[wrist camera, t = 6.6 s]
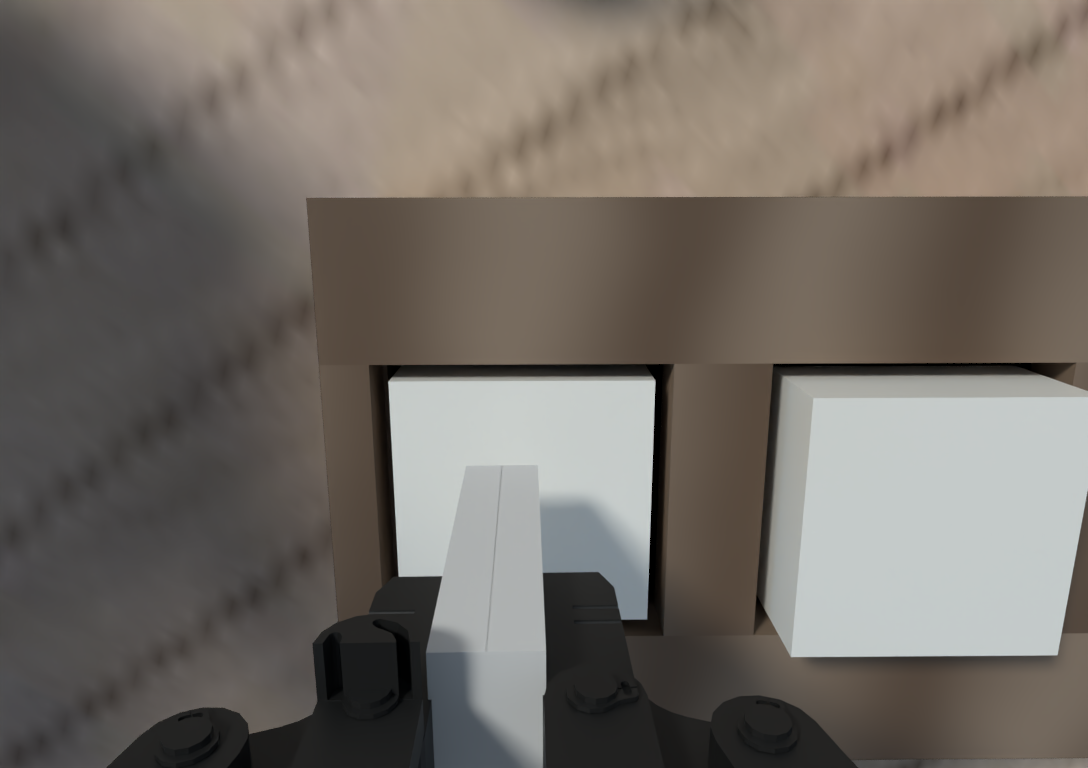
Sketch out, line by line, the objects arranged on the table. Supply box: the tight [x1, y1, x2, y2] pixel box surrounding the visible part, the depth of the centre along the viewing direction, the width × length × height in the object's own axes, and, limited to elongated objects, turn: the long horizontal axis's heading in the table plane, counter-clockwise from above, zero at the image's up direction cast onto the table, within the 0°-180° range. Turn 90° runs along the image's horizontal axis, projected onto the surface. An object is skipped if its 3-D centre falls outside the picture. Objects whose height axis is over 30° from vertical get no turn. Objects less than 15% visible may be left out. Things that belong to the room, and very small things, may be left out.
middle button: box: [756, 366, 1088, 657], centre depth 18 cm, size 6×6×3 cm
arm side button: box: [388, 364, 655, 620], centre depth 19 cm, size 6×6×3 cm
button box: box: [306, 197, 1088, 760], centre depth 21 cm, size 27×14×6 cm, turn 90°
